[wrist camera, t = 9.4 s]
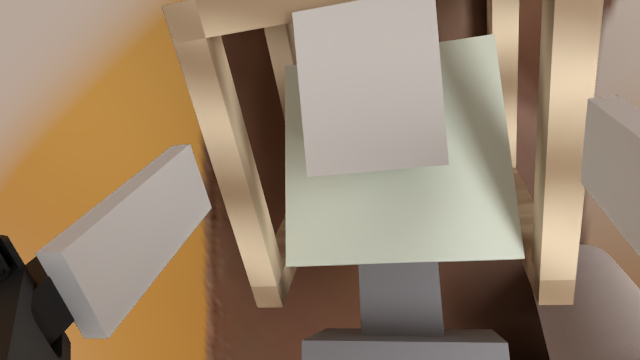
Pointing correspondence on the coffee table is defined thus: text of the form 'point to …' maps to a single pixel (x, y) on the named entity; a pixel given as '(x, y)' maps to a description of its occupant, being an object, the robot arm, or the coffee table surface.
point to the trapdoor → (411, 220)
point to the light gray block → (370, 86)
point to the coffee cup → (595, 313)
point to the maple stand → (552, 122)
